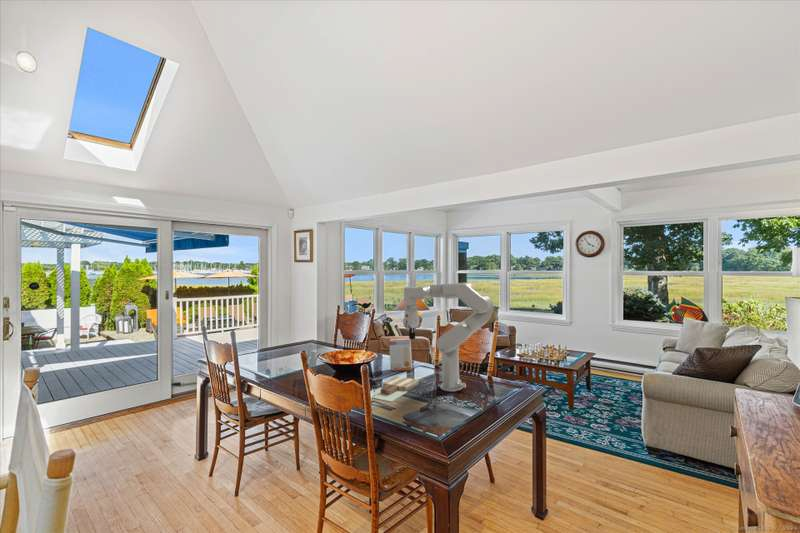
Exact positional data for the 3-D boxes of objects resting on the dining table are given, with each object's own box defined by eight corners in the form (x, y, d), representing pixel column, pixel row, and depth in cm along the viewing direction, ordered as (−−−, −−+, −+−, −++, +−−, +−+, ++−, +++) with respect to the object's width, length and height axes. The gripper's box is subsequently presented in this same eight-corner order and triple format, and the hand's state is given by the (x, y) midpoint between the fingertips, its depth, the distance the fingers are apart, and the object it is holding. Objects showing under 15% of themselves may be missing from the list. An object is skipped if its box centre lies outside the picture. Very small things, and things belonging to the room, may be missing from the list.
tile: (398, 389, 213) (398, 385, 213) (389, 395, 205) (389, 390, 205) (389, 388, 216) (389, 384, 216) (380, 393, 209) (380, 389, 209)
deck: (418, 384, 223) (418, 379, 222) (406, 391, 211) (406, 387, 211) (396, 380, 231) (396, 376, 231) (383, 387, 219) (382, 383, 219)
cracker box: (412, 368, 255) (410, 337, 255) (411, 371, 249) (410, 339, 249) (391, 368, 257) (390, 338, 256) (390, 371, 251) (389, 340, 250)
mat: (407, 392, 210) (407, 391, 210) (391, 401, 196) (391, 401, 196) (381, 387, 220) (381, 386, 220) (364, 396, 206) (364, 395, 206)
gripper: (409, 309, 213) (411, 342, 213) (422, 306, 225) (424, 336, 226) (398, 309, 217) (400, 341, 217) (411, 306, 229) (413, 336, 230)
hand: (412, 338), depth 221 cm, fingers closed
